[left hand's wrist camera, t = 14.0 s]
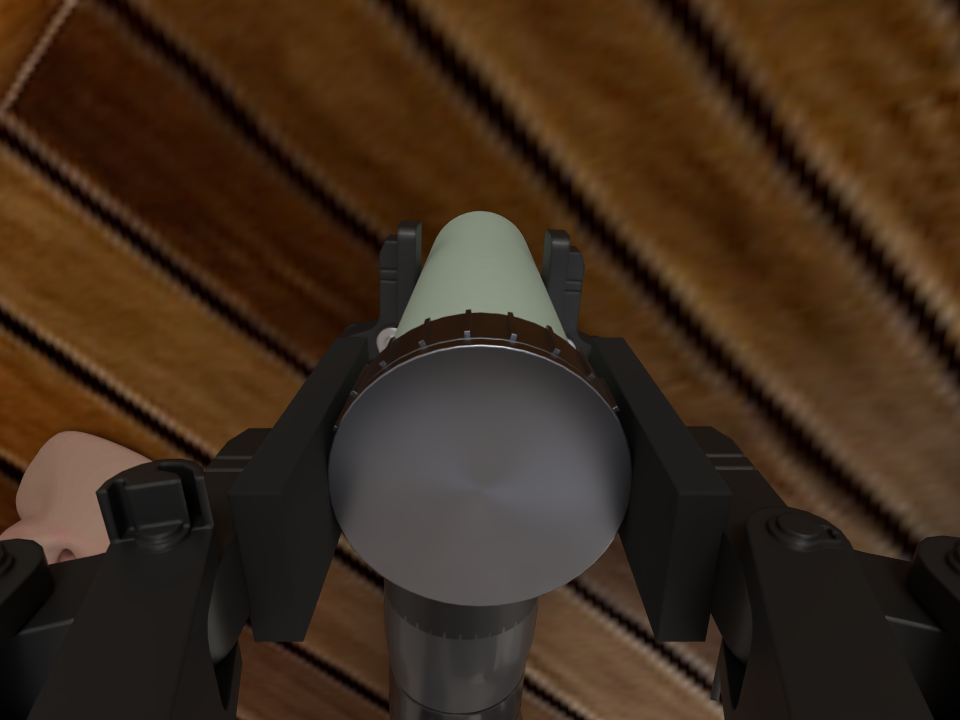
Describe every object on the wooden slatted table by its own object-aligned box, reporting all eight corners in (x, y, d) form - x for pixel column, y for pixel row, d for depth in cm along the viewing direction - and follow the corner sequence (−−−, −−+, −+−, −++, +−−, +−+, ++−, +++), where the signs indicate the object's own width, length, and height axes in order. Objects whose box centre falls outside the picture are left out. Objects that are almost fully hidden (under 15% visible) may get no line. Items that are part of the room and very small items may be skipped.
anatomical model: (-46, 453, 28) (190, 502, 29) (15, 416, 32) (223, 461, 33) (-29, 647, 33) (174, 684, 34) (22, 596, 37) (204, 630, 38)
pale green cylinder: (470, 326, 30) (457, 617, 12) (410, 251, 29) (291, 453, 11) (548, 270, 29) (662, 496, 11) (489, 189, 28) (509, 294, 9)
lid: (457, 585, 14) (454, 652, 12) (288, 413, 12) (256, 462, 10) (664, 459, 12) (695, 514, 11) (507, 249, 11) (514, 271, 9)
